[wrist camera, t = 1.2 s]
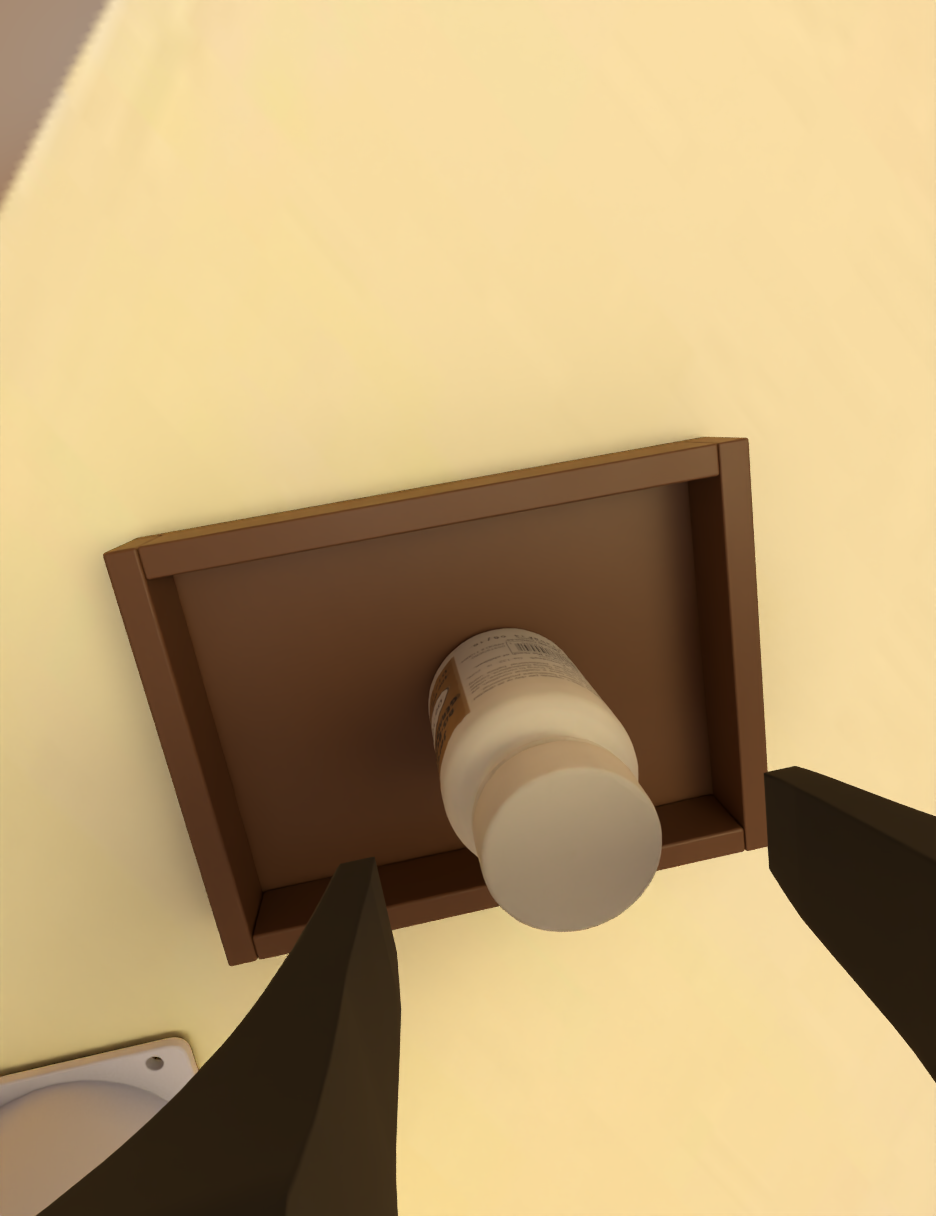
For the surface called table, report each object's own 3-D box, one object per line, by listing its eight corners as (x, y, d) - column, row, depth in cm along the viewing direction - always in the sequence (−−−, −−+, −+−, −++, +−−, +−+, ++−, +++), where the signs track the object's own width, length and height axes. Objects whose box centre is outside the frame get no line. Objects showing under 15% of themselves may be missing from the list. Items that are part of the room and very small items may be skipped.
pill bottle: (403, 659, 20) (416, 801, 12) (549, 601, 20) (651, 707, 12) (459, 789, 21) (502, 990, 13) (596, 734, 21) (715, 904, 13)
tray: (245, 910, 21) (228, 968, 19) (135, 537, 18) (100, 553, 16) (732, 803, 23) (772, 846, 20) (705, 436, 19) (749, 437, 17)
